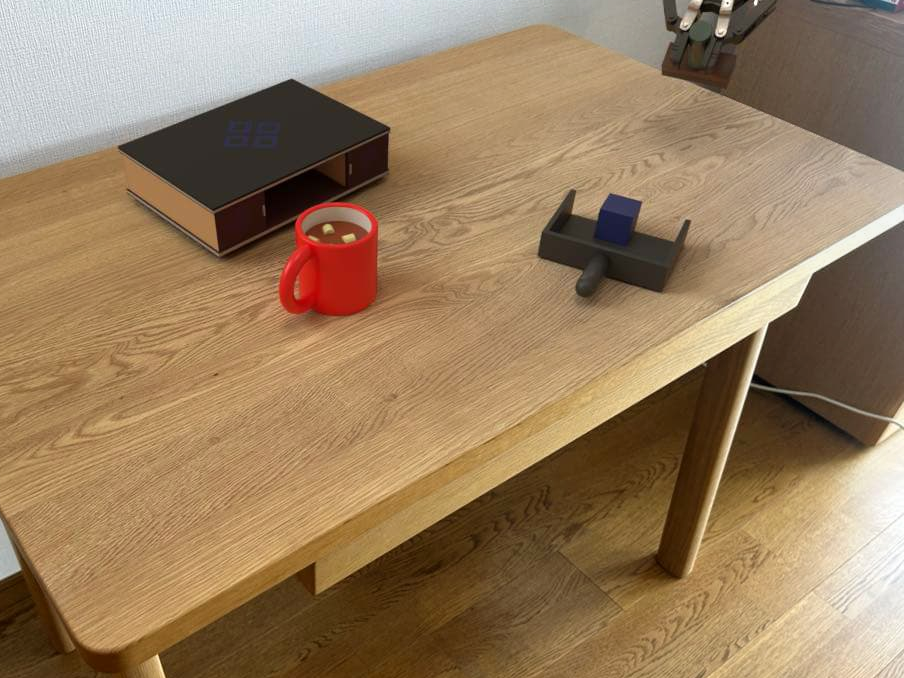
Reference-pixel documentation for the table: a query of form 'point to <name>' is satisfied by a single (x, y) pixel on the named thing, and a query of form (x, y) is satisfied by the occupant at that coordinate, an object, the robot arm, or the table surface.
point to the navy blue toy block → (617, 219)
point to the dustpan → (607, 251)
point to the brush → (700, 59)
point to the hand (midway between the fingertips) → (688, 70)
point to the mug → (332, 261)
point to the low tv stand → (254, 164)
